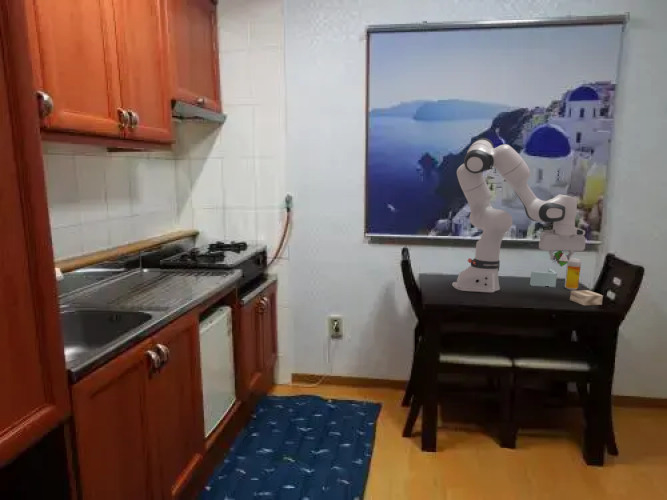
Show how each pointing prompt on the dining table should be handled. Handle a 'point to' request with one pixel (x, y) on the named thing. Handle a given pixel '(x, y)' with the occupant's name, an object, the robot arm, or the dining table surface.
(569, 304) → the dining table surface
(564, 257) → the geometric puzzle
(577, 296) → the oak base block
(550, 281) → the right angle wall
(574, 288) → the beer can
